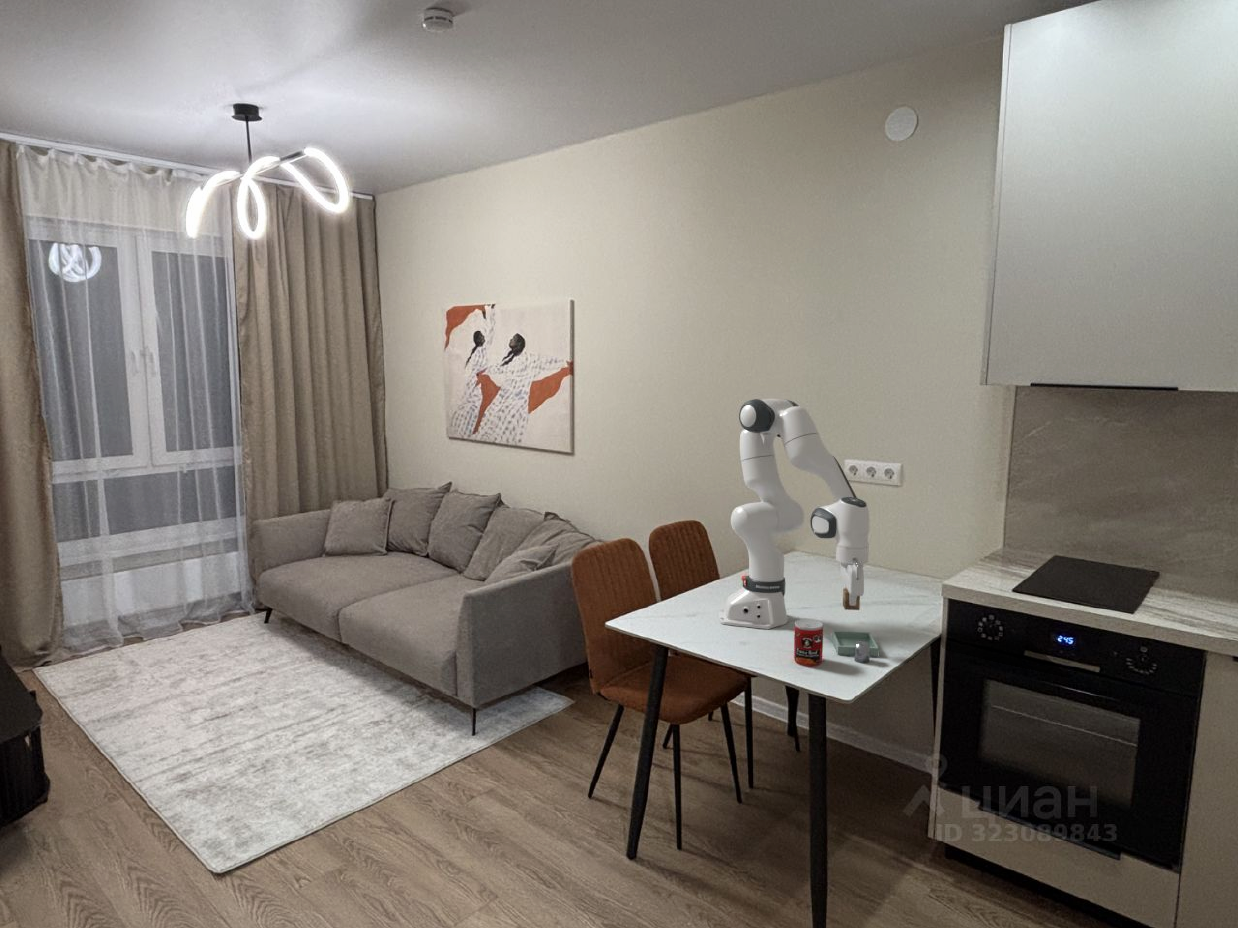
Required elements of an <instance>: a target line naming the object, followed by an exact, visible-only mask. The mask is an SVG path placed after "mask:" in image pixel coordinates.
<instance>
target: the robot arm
mask: <svg viewBox="0 0 1238 928" xmlns="http://www.w3.org/2000/svg"><path fill="white" fill-rule="evenodd" d="M738 419H739V420H738V421H739V423H740V425H741V427H742V428H743V429H742V430H741V432H740V436H739V455H740V457H739V458H740V463H741V464H740V465H741V470H742V476H743V477H742V478H743V483H744V484H745V487H747V488H748V489H749V490H750V491H753V492H754V493H755V494H756V495H757V497H759V499H760V501H758V502H756V501H755V502H747V503H745V504H742V505H739V506H736V507H735V508H734V509H733V511H732V512H731V516H730V525H731V529H732V531H733V532H734V533H735V534H736V535H737V536H738V537H739V538H740V539H741V540H742V541H743V542H744V545H745V546H746V550H747V553H748V560H749V561H748V572H749V573H748V575H747V574H745V573H743V574H742V575H741V576H740V577H741V578H740V579H741V581H742V587H741V588H739V589H738V590H736V591H735V592H734V593H732V594H731V595H730V594H729V596H728V597H727V599H726V601H725V605H724V608H721V609H720V610H719V611H718V613H717V614H718V615H717V620H718V622H719V623H720V624H723V625H724V626H734V627H735V626H737V627H745V628H755V629H764V630H770V629H772V628H774V627H780V626H784V625H785V624H787V623H788V622H789V618H788V615H787V610H786V603H785V595H786V585H787V584H786V582H787V581H786V578H785V555H784V553H783V551H781V550H780V549H779V548H777V547H776V546H774V545H773V541H772V536H776V535H777V536H778V535H784V534H789V533H791V532H792V533H793V532H795V531H797V530H799V529H801V527H802V526H803V525H804V522H805V521H804V520H805V512H804V509H803V507H802V506H801V504H800V503H799V502H797V500H795V499H793V498H792V497H791V496H790V495H789V494H788V493H787V491H786V489H785V488H784V486H783V484H782V483H783V482H782V481H781V479H780V474H779V470H778V464H777V459H776V454H775V450H774V449H775V448H774V447H775V446H774V441H775V438H776V437H777V438H781V441H782V445H783V448H784V451H785V454H786V457H787V459H788V460H789V462H790V464H791V465H792V466H794V467H795V468H797V469H798V470H801V471H804V472H806V473H807V472H808V473H810V474H813V475H816V476H818V477H819V478H821V480H823V481H825V483H826V484H827V486H828V488H829V490H830V492H831V494H832V496H833V499H834V500H835V502H833V503H831V504H829V505H823V506H820V507H817V508H815V509H814V510H813V511H812V513H811V516H810V520H809V524H810V529H811V531H812V532H813V535H815V536H816V537H817V538H819V539H824V540H829V539H834V540H835V541H836V544H835V545H836V548H835V551H836V552H835V561H836V562H838V569H839V577H840V579H841V580H842V583H843V585H844V589H847V590H848V591H849V604H850V605H851V606H855V605H856V599H857V596H860V597H863V596H864V593H865V574H864V565H865V564H868V562H869V557H870V556H869V555H870V553H869V549H870V544H869V543H870V542H869V539H868V538H869V537H868V536H869V533H870V521H871V520H870V509H869V507H868V506H869V505H868V503H867V502H866V501H865V500H863V499H861V498H858V497H857V495H856V493H855V491H854V489H853V488H852V486H851V483H850V482H849V480H848V478H847V476H846V474H845V471H844V470H843V468H842V466H841V465H840V463H839V461H838V459H837V458H836V457H835V456H833V454H831V453H830V451H829V450H828V448H826V446H825V444H824V442H823V440H822V439H821V435H820V434H819V431H818V428H817V426H816V424H815V422H814V420H813V418H812V417H811V415H810V413H809V412H808V410H807V409H806V408H805V407H802V406H799V405H798V404H797V403H796V402H794V401H792V400H789V399H780V398H774V397H773V398H763V399H760V398H755V399H754V398H753V399H750V400H747V401H745V402H744V403H743V404H742V405H741V407H740V408H739V413H738Z"/></svg>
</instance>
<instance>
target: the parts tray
mask: <svg viewBox="0 0 1238 928" xmlns="http://www.w3.org/2000/svg"><path fill="white" fill-rule="evenodd" d="M830 639H831V641H832V643H833V646H834V649H835V652H836V655H837V656H850V657H851V656H852V657H853V656H855V642H857V641H865V642H868V643H870V657H869V658H871V657H872V658H873V657H874V658H878V657H879V654H880V653H879V651H880V650H879V646H878V645H877V644H878V643H876V641H875V638H874V637H873V635H872V633H871V632H870V631H846V630H845V631H844V630H831V638H830Z"/></svg>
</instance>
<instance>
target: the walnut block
mask: <svg viewBox="0 0 1238 928" xmlns="http://www.w3.org/2000/svg"><path fill="white" fill-rule="evenodd" d="M860 599H861V596H857V599H856V605H855V606H851V605H850V604H849V591H848V590H847V589H845V588H843V589H842V608H844V610H846V611H847V610H849V611H860V607H861V606H860V604H861V600H860Z"/></svg>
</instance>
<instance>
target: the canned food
mask: <svg viewBox="0 0 1238 928" xmlns="http://www.w3.org/2000/svg"><path fill="white" fill-rule="evenodd" d="M793 639H794V640H793V641H794V643H793V660H794V662H795V663H796V664H798V665H800V666H803V667H817V666H819V665H821V664H822V661H823V649H824V648H823V647H824V645H823V644H824V641H823V640H824V623H823V622H821V621H819V620H816V619H811V618H802V619H798V620H795V622H794V638H793Z"/></svg>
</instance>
